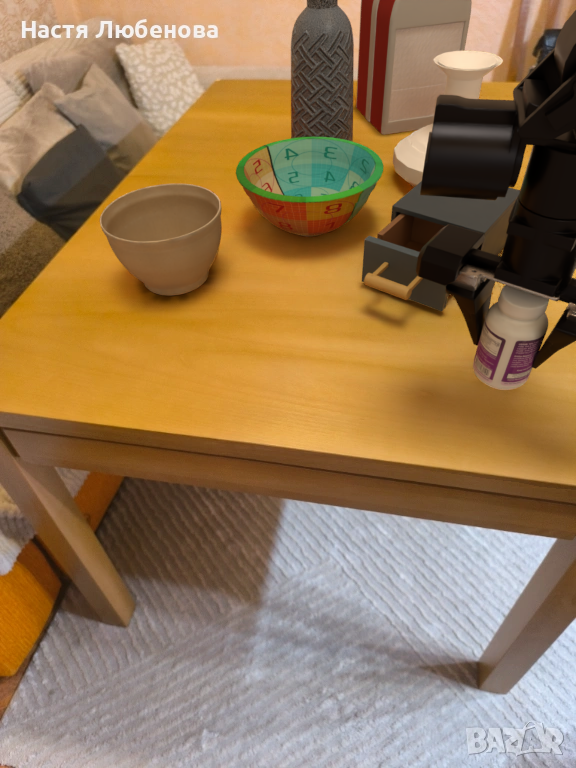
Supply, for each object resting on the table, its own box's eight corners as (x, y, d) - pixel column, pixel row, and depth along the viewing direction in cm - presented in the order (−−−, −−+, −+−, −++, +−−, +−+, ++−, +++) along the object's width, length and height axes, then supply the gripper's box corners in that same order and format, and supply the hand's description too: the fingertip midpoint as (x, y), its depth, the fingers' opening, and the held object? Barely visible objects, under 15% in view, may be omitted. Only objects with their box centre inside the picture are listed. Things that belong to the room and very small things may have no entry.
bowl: (407, 232, 84) (415, 170, 77) (288, 280, 77) (285, 217, 69) (326, 181, 98) (327, 124, 90) (219, 217, 90) (210, 159, 83)
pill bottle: (528, 360, 54) (559, 281, 47) (526, 397, 50) (559, 317, 43) (473, 349, 55) (495, 271, 48) (468, 385, 52) (491, 306, 45)
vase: (364, 154, 105) (375, -23, 85) (317, 172, 100) (316, -10, 80) (325, 136, 112) (326, -31, 92) (279, 153, 107) (270, -20, 87)
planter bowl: (249, 259, 81) (241, 191, 73) (195, 322, 71) (179, 251, 63) (161, 240, 86) (145, 175, 78) (99, 296, 76) (73, 228, 68)
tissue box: (420, 97, 125) (439, -49, 106) (454, 124, 113) (482, -35, 94) (354, 106, 123) (360, -41, 104) (381, 135, 111) (394, -25, 92)
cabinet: (471, 286, 74) (485, 232, 68) (386, 257, 80) (392, 205, 74) (507, 243, 81) (522, 190, 75) (427, 219, 87) (435, 169, 81)
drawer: (424, 332, 66) (432, 288, 61) (342, 300, 72) (343, 257, 67) (480, 266, 75) (491, 223, 71) (403, 241, 81) (409, 200, 76)
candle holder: (529, 185, 93) (566, 61, 79) (444, 219, 86) (467, 91, 72) (448, 148, 105) (468, 35, 91) (368, 175, 99) (376, 58, 85)
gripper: (720, 189, 40) (632, 343, 51) (481, 138, 48) (451, 281, 59) (692, 258, 34) (599, 416, 45) (425, 187, 42) (403, 335, 53)
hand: (505, 353), depth 51 cm, fingers closed on pill bottle, 5 cm apart
